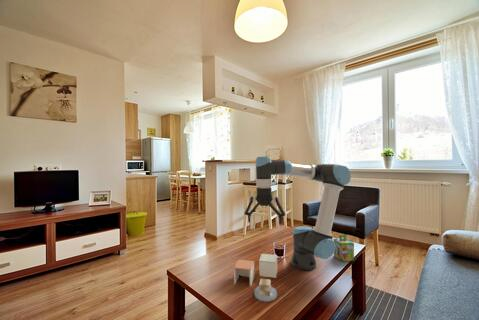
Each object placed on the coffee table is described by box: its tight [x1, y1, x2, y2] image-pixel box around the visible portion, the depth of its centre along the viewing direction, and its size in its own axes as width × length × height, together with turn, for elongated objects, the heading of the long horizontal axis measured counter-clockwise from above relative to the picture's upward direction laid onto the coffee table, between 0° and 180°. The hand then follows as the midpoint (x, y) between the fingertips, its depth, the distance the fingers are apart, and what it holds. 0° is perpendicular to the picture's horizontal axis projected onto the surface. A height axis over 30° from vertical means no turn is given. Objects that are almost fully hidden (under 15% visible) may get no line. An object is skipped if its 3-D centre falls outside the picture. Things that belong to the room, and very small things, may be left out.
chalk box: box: [333, 234, 355, 262], centre depth 140 cm, size 9×9×15 cm
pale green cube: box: [258, 253, 278, 279], centre depth 124 cm, size 9×9×9 cm
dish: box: [253, 286, 278, 303], centre depth 104 cm, size 11×11×1 cm
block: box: [258, 278, 272, 296], centre depth 104 cm, size 5×5×5 cm
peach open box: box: [233, 259, 255, 287], centre depth 117 cm, size 9×9×9 cm
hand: (264, 229), depth 107 cm, fingers open, 13 cm apart
